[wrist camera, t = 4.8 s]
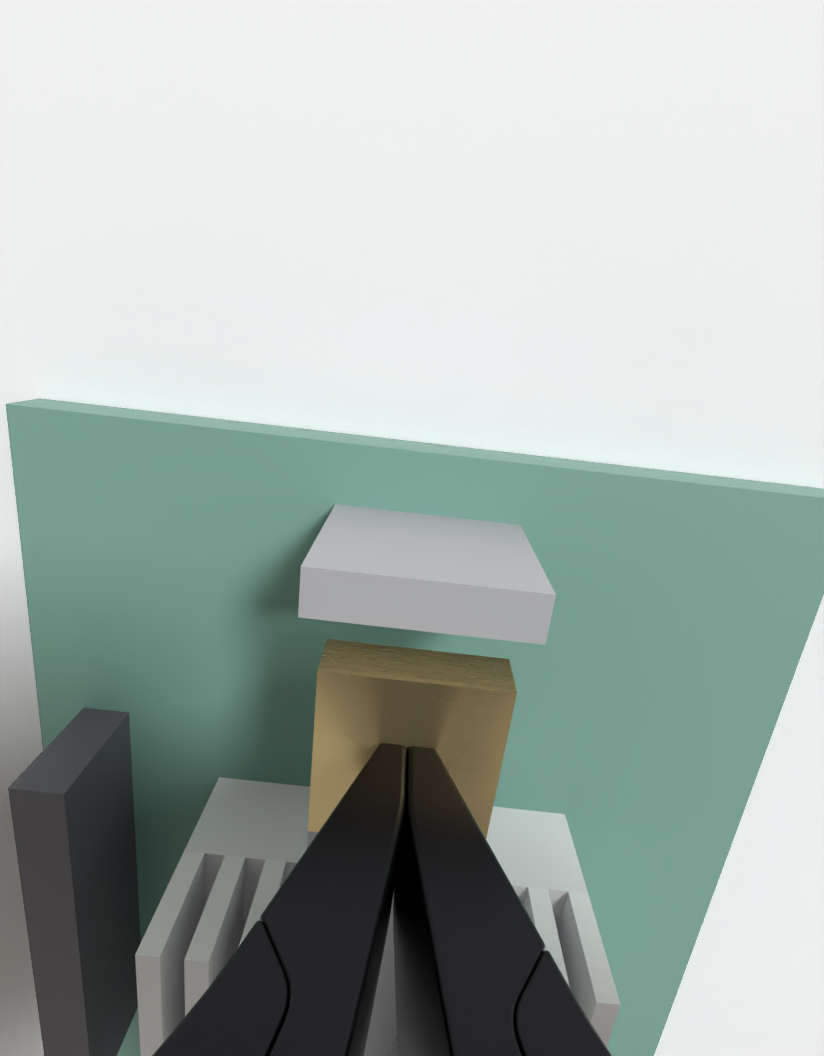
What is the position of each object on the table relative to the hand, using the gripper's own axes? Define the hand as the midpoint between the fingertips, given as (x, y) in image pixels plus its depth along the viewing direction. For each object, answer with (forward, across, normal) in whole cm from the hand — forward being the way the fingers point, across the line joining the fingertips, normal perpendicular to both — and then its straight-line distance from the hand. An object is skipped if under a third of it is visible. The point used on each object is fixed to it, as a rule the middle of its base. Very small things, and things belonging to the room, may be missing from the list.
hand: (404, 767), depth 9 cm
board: (+4, 0, +7) cm, 8 cm away
